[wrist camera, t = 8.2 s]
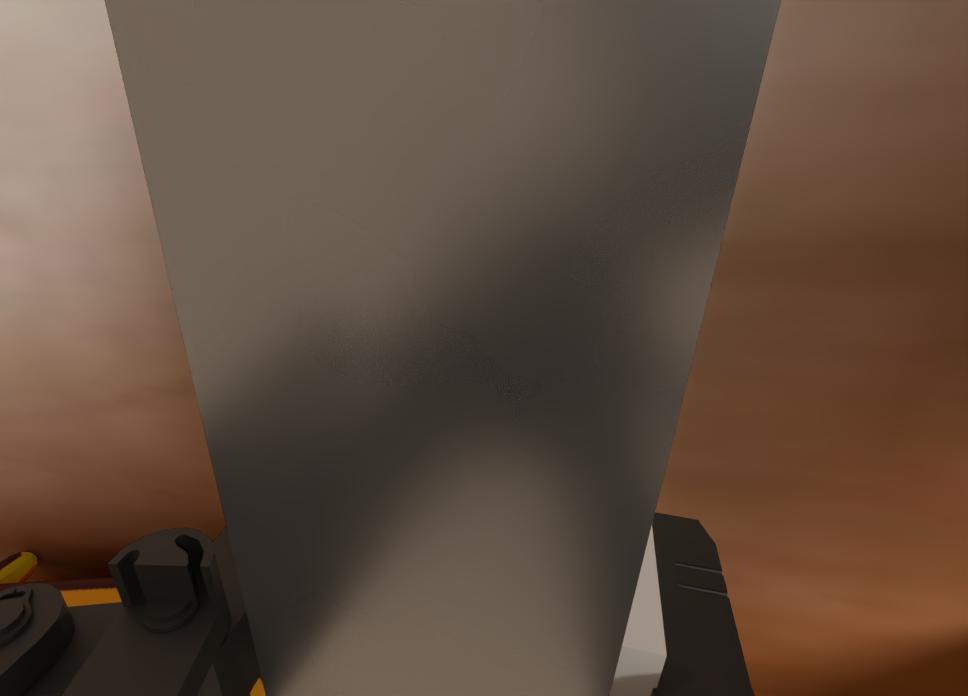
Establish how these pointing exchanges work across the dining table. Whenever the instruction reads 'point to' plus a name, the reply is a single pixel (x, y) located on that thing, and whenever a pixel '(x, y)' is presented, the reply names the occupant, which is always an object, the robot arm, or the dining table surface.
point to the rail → (440, 310)
